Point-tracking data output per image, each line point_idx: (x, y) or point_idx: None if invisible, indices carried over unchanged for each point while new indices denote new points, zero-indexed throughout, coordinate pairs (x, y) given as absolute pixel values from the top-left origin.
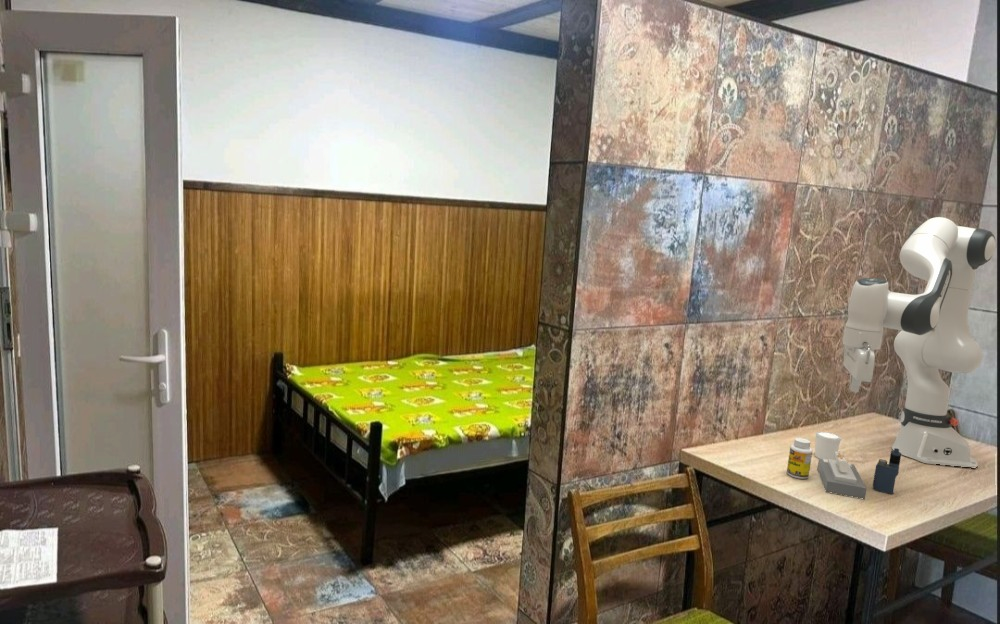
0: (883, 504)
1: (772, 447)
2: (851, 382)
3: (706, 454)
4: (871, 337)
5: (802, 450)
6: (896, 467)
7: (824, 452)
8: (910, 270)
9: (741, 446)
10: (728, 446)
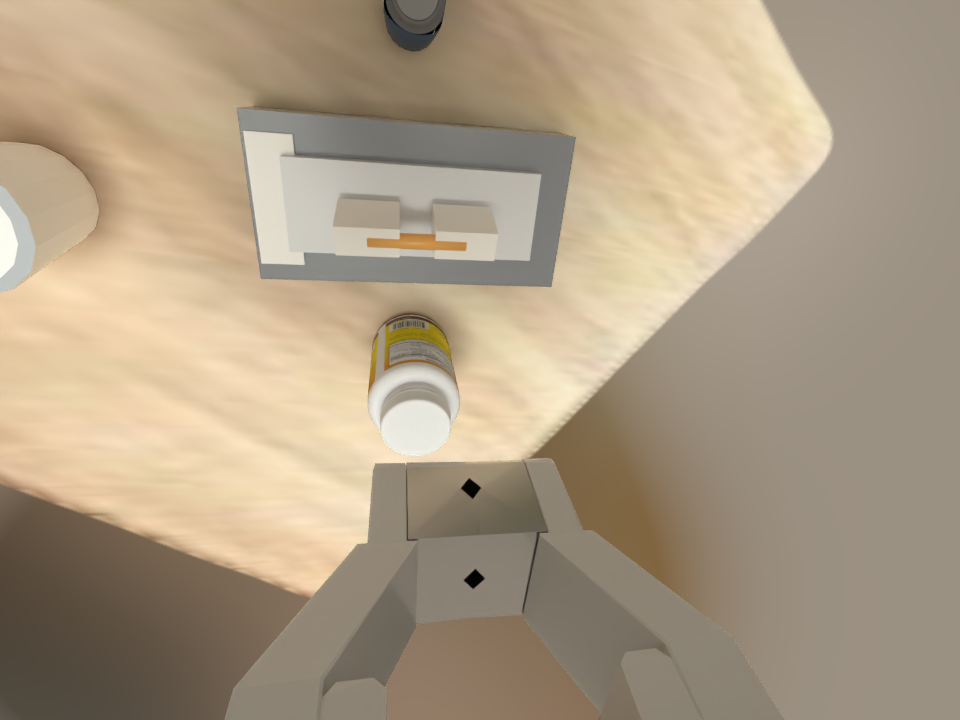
0: (588, 58)
1: (97, 408)
2: (410, 636)
3: None
4: None
5: (457, 407)
6: None
7: (80, 222)
8: None
9: (190, 499)
10: (227, 530)
